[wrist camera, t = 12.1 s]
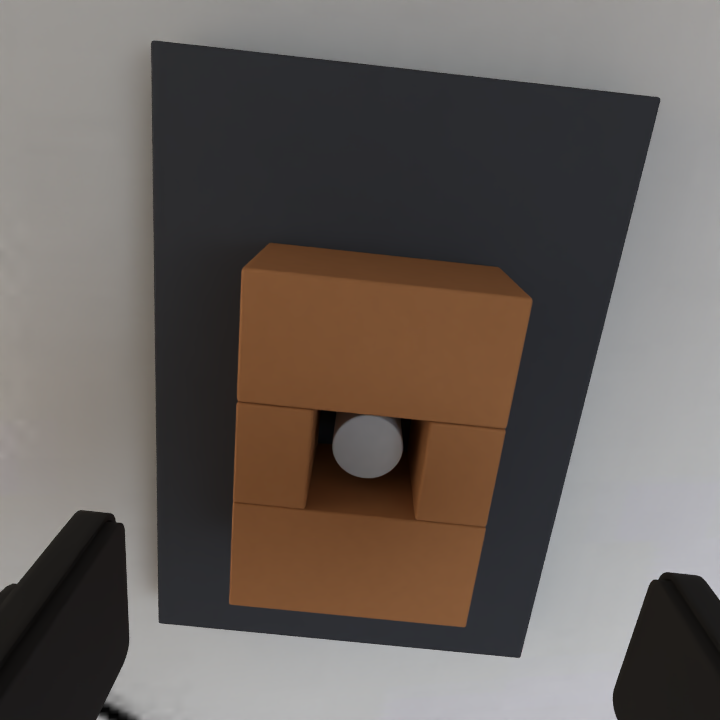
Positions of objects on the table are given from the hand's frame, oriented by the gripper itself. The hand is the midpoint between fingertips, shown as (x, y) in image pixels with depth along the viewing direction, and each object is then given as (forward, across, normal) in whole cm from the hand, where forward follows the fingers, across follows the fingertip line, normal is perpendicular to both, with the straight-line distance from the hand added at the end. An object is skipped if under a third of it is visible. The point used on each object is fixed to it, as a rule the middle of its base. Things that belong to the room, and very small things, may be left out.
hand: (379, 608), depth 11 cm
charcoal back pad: (+11, 0, 0) cm, 11 cm away
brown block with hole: (+9, 0, 0) cm, 9 cm away
